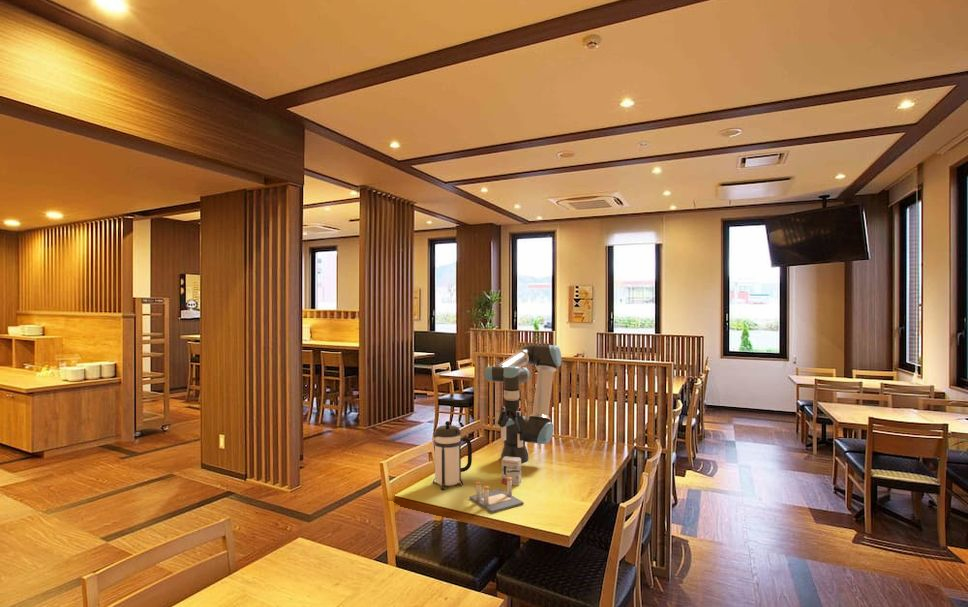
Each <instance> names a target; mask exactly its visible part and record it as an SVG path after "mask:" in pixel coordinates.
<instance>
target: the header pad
mask: <svg viewBox="0 0 968 607" xmlns="http://www.w3.org/2000/svg"><path fill="white" fill-rule="evenodd" d="M475 485H476V486H475V487H476V488H475V494H474V495H469V499H470V501H472V502H474V503H475V504H477V505H479V506H480V507H481V508H483V509H485V510H486V511H488V512H489V513H491V514H495V513H499V512H502V511H506V510H509V509H512V508H515V507H520V506H524V504H525V502H524V501H522V500H520V499H519V498H517V497H515V496H514V495H513V494H512V493H513V490H512V488H513V485H512V478H511V477H507V484H506V491H505V490H503V489H501V488H497V489H494V490H490V491H489V485H483V492H482V481H476V482H475Z"/></svg>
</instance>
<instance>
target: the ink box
mask: <svg viewBox="0 0 968 607" xmlns="http://www.w3.org/2000/svg"><path fill="white" fill-rule="evenodd" d="M507 477H511V478H512V486H520V484H521V483H522V463H521V458H519V457H508V456H505V457H504V458H503V459H502V460H501V484H502V485H507Z"/></svg>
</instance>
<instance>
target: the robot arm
mask: <svg viewBox="0 0 968 607" xmlns="http://www.w3.org/2000/svg"><path fill="white" fill-rule="evenodd" d="M527 365H528V366H529V365H532V366H535V368H536V370H537V377H536V384H535V392H534V400H533V406H532V413H531V414H530V415H529V416H528V419H526V416H525V415H523V411H522V410H520V411H519V408H520V397H521V396H520V385H521V384H524V383H526V382H527V381H529V379H530V376H531V373H530V370H529V369H528V368H527V367H525V366H527ZM561 365H562V353H561V349H560V348H559V346H558V345H552V344H529V345H528V344H527V345H524V346H522V347H520V348H519V349H516V350H515V351H514V352H513V354H512V355H511V356H510V357H507V358H506V359H505V360H502V361H501V362H500V363H498V364H497V365H495V366H493V365H489V366H486V367H485V370H484V378H485V380H486V381H488V382H492V383H493V382H494V383H495V382H497V383H503V406H502V407H501V409H500V414H499V417H498V420H497V425H498V426H499V427H500V441H501V442H502V441H503V447H502V451H501V454H500V460H501V461H502V459H503V458H504V457H505V456H508V457H519V458H521V464H522V463H526V462H528V461H529V452H528V450H527V447H526V443H532V444H538V445H547V444H549V442H550V441H551V440H552V438H553V434H554V423H553V422H551V420H552V419H551V417H550V416H549V413H550V405H551V404H550V403H551V396H552V387H553V382H554V381H553V379H554V373H555V372H557V369H558V368H557V367H561Z"/></svg>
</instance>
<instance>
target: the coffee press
mask: <svg viewBox="0 0 968 607" xmlns="http://www.w3.org/2000/svg"><path fill="white" fill-rule="evenodd" d="M450 424H451V422H450V421H449V420H447V421H445V423H444V425H443V424H442V425H440V426H438V427H436V428H435V430H434V432H433V436H432V441H433V442H434V443H433V444H434V479H433V481H432V484H434V485H435V484H438V485H440V486H441V487H440V490H441V491H445V490H446V486H454V485H458V486H459V487H463V485H464V482H463V481H462V473H463V472H467V471H468V470H469V469H470V468H471V467H472V462H473V457H472V456H473V449H472V448H473V447H472V446H473V445H472V442H471V440H470V439H469V438H468V437H461V435H462V431H461V429H460V427H458V426H457V425H454V424H453V425H452V424H451V425H450ZM462 442H466V445H467V463H466V465H465V466H464V467H462V465H461V463H462V459H461V458H462V454H461V450H462V448H461V445H462Z"/></svg>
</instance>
